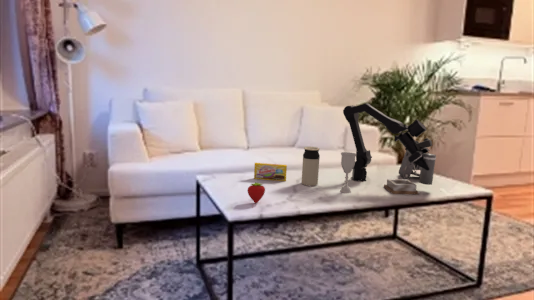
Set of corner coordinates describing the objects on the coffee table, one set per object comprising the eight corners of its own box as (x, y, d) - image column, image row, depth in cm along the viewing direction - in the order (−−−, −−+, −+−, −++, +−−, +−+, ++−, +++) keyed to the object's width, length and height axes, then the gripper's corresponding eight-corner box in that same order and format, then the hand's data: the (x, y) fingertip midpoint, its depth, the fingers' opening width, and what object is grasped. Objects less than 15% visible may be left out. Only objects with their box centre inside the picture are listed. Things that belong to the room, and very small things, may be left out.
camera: (430, 187, 230) (444, 152, 227) (400, 177, 231) (413, 142, 227) (424, 182, 241) (437, 149, 238) (395, 173, 242) (408, 139, 238)
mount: (392, 193, 200) (393, 185, 199) (383, 186, 212) (384, 178, 211) (418, 194, 201) (419, 185, 200) (408, 187, 213) (409, 179, 212)
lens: (422, 184, 204) (425, 155, 201) (416, 181, 210) (420, 152, 207) (434, 184, 204) (438, 156, 202) (428, 181, 210) (432, 153, 208)
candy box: (253, 179, 216) (254, 163, 215) (254, 178, 218) (254, 162, 217) (285, 181, 215) (286, 165, 213) (286, 180, 217) (286, 164, 215)
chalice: (354, 190, 202) (357, 153, 199) (352, 194, 196) (355, 155, 193) (339, 188, 205) (341, 151, 202) (336, 192, 198) (339, 153, 195)
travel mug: (320, 185, 208) (322, 149, 205) (304, 186, 206) (307, 149, 203) (313, 181, 216) (316, 146, 213) (299, 182, 214) (301, 146, 211)
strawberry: (244, 201, 177) (245, 178, 176) (260, 200, 181) (261, 177, 179) (250, 205, 172) (251, 181, 170) (267, 204, 176) (268, 180, 174)
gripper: (418, 134, 197) (440, 162, 193) (427, 131, 212) (448, 156, 209) (399, 149, 202) (420, 176, 199) (409, 144, 218) (429, 169, 214)
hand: (430, 168), depth 205 cm, fingers closed on lens, 6 cm apart
